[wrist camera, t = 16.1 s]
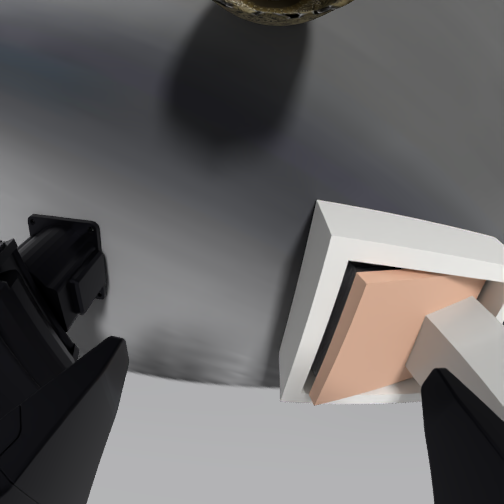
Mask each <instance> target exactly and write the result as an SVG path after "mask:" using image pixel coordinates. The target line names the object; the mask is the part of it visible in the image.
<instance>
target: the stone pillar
mask: <svg viewBox="0 0 504 504" xmlns="http://www.w3.org/2000/svg"><path fill="white" fill-rule="evenodd" d="M405 366H406V368H407V369H408V370H409V372H410V373H411V374H412V376H413V377H414V379H415V380H416V381H417V383H418V384H419V385H420V387H421V386H422V384H423V382H424V381H425V380H426V378H427V377H428V375H429V374H430V372H431V371H432V370H433V369H434V368H441V367H444V368H447V369H448V370H449V371H450V372H451V373H452V374H453V375H454V376H456V377H457V378H458V379H459V380H460V381H461V382H462V383H463V384H464V385H465V386H466V387H468V388H469V389H470V390H471V391H472V392H473V393H474V394H475V395H476V396H477V397H478V398H479V399H480V400H482V401H483V402H484V403H485V404H486V405H487V406H488V407H489V408H490V409H491V410H492V411H493V412H494V413H495V414H496V415H497V416H498V417H499V418H501V419H502V420H503V421H504V326H503V325H502V324H501V323H500V322H499V321H498V320H497V319H496V318H495V317H494V316H493V315H492V314H491V313H490V312H489V311H488V310H487V309H486V308H485V307H484V306H483V305H482V304H481V303H480V302H479V301H478V300H477V299H475V298H474V297H473V296H470V297H468V298H466V299H464V300H461V301H459V302H457V303H454V304H452V305H450V306H447V307H445V308H442V309H440V310H438V311H435V312H433V313H430V314H428V315H425V318H424V321H423V323H422V326H421V329H420V331H419V334H418V336H417V339H416V341H415V344H414V346H413V348H412V351H411V353H410V355H409V358H408V360H407V362H406V365H405Z"/></svg>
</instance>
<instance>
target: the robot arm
mask: <svg viewBox="0 0 504 504" xmlns="http://www.w3.org/2000/svg"><path fill="white" fill-rule="evenodd" d="M33 220H34V221H33ZM34 222H35V223H34ZM28 225H29V231H30V237H29V238H28V239H27V240H26V241H24V242H23V243H22V244H21V245H20V246H19V247H18V246H17V244H16V242H15V240H14V239H11V240H9V241H6V242H5V241H4V242H2V241H1V240H0V504H86V503H87V500H88V497H89V494H90V490H91V487H92V484H93V481H94V478H95V475H96V471H97V468H98V465H99V462H100V459H101V456H102V453H103V450H104V447H105V445H106V442H107V439H108V436H109V433H110V430H111V427H112V425H113V422H114V419H115V416H116V413H117V410H118V406H119V402H120V397H121V393H122V388H123V385H124V381H125V377H126V373H127V369H128V365H129V357H128V352H127V346H126V341H125V339H123V338H120V337H115V336H110V337H108V338H107V339H105V340H104V341H103V342H101V343H100V344H99V345H97V346H96V347H95V348H93V349H92V350H91V351H89V352H88V353H87V354H85V355H84V356H83V357H81V358H80V359H79V360H77V359H78V354H79V349H78V348H77V346H76V345H75V344H74V343H72V341H71V340H70V338H69V337H68V335H67V334H66V332H67V331H68V330H69V328H70V327H71V325H72V323H73V322H74V320H75V319H76V317H77V316H78V314H80V315H83V314H84V313H85V312H86V311H87V309H88V308H89V306H90V305H91V303H92V302H93V300H94V299H95V298H96V299H104V297H105V295H106V286H105V283H106V274H105V265H104V257H103V253H102V251H101V245H100V234H99V226H98V224H97V223H96V222H94V221H88V220H80V219H72V218H63V217H55V216H47V215H38V214H32V215H31V216H30V217H29V218H28ZM90 227H92V228H93V230H94V231H92V230H91V229H90ZM17 247H18V248H17ZM99 292H100V293H101V294H100V293H99ZM421 399H422V408H423V419H424V431H425V438H426V444H427V450H428V456H429V463H430V470H431V478H432V486H433V495H434V504H504V421H503V420H502V419H501V418H499V417H498V416H497V415H496V414H495V413H494V412H493V411H492V410H491V409H490V408H489V407H488V406H487V405H486V404H485V403H484V402H483V401H482V400H480V399H479V398H478V397H477V396H476V395H475V394H474V393H473V392H472V391H471V390H470V389H469V388H468V387H466V386H465V385H464V384H463V383H462V382H461V381H460V380H459V379H458V378H457V377H456V376H454V375H453V374H452V373H451V372H450V371H449V370H448V369H447V368H444V367H441V368H434V369H433V370H432V371H431V372H430V374H429V375H428V377H427V378H426V380H425V381H424V382H423V384H422V386H421Z"/></svg>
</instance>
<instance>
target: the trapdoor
mask: <svg viewBox="0 0 504 504" xmlns="http://www.w3.org/2000/svg"><path fill="white" fill-rule="evenodd" d="M485 281H486V280H484V279H477V278H470V277H463V276H456V275H449V274H442V273H435V272H428V271H421V270H414V269H399V270H391V269H390V268H389V267H388V266H386V265H378V264H371V263H364V262H357V261H350V260H349V261H348V264H347V267H346V270H345V273H344V276H343V280H342V283H341V286H340V289H339V292H338V295H337V298H336V301H335V304H334V306H333V309H332V312H331V315H330V318H329V321H328V323H327V326H326V329H325V332H324V334H323V337H322V340H321V343H320V345H319V348H318V351H317V353H316V356H315V358H314V361H313V363H312V366H311V370H312V372H313V374H314V376H315V377H316V379H315V381H314V384H313V386H312V388H311V390H310V393H309V396H310V398H311V400H312V402H313V404H314V405H319V404H323V403H327V402H331V401H335V400H339V399H343V398H347V397H351V396H354V395H358V394H362V393H365V392H368V391H372V390H375V389H378V388H382V387H385V386H388V385H391V384H394V383H397V382H400V381H403V380H406V379H409V378H412V377H413V376H412V374H411V373H410V372H409V370H408V369H407V368H406V366H405V365H406V362H407V360H408V358H409V355H410V353H411V351H412V348H413V346H414V344H415V341H416V339H417V336H418V334H419V331H420V329H421V326H422V323H423V321H424V318H425V315H428V314H430V313H433V312H435V311H438V310H440V309H442V308H445V307H447V306H450V305H452V304H454V303H457V302H459V301H461V300H464V299H466V298H468V297H470V296H473V297H474V298H475V299H477V297H478V295H479V293H480V291H481V289H482V287H483V285H484V283H485Z"/></svg>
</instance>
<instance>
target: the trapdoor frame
mask: <svg viewBox="0 0 504 504" xmlns="http://www.w3.org/2000/svg"><path fill="white" fill-rule="evenodd" d="M349 260H350V261H357V262H364V263H371V264H378V265H386V266H393V267H400V268H407V269H414V270H421V271H428V272H435V273H442V274H449V275H456V276H463V277H470V278H477V279H484V280H486V281H485V283H484V285H483V287H482V289H481V291H480V293H479V295H478V297H477V300H478V301H479V302H480V303H481V304H482V305H483V306H484V307H485V308H486V309H487V310H488V311H489V312H490V313H491V314H492V315H493V316H494V317H495V318H496V319H497V320H498V321H499V322H500V323H501V324H502V323H503V321H504V245H503V244H502V243H501V242H500V241H499V240H497V239H496V238H495V237H492V236H488V235H484V234H480V233H476V232H472V231H468V230H464V229H460V228H456V227H451V226H447V225H443V224H438V223H434V222H429V221H425V220H420V219H416V218H411V217H406V216H401V215H397V214H392V213H387V212H382V211H377V210H371V209H366V208H361V207H355V206H350V205H344V204H339V203H333V202H327V201H321V200H317V201H316V205H315V210H314V214H313V219H312V223H311V228H310V232H309V236H308V241H307V245H306V249H305V253H304V258H303V262H302V266H301V270H300V274H299V278H298V282H297V286H296V290H295V294H294V298H293V302H292V306H291V310H290V313H289V317H288V321H287V325H286V329H285V332H284V336H283V340H282V343H281V347H280V351H279V374H280V401H281V402H296V403H313V402H312V400H311V398H310V396H309V393H310V390H311V388H312V386H313V384H314V381H315V379H316V377H315V376H314V374H313V372H312V370H311V366H312V363H313V361H314V358H315V356H316V353H317V351H318V348H319V345H320V343H321V340H322V337H323V334H324V332H325V329H326V326H327V323H328V321H329V318H330V315H331V312H332V309H333V306H334V304H335V301H336V298H337V295H338V292H339V289H340V286H341V283H342V280H343V276H344V273H345V270H346V267H347V264H348V261H349ZM420 401H422V399H421V387H420V385H419V384H418V383H417V381H416V380H415V379H414V377H412V378H409V379H406V380H403V381H400V382H397V383H394V384H391V385H388V386H385V387H382V388H378V389H375V390H372V391H368V392H365V393H362V394H358V395H354V396H351V397H347V398H343V399H339V400H335V401H331V402H327V403H323V404H384V403H406V402H420Z"/></svg>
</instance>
